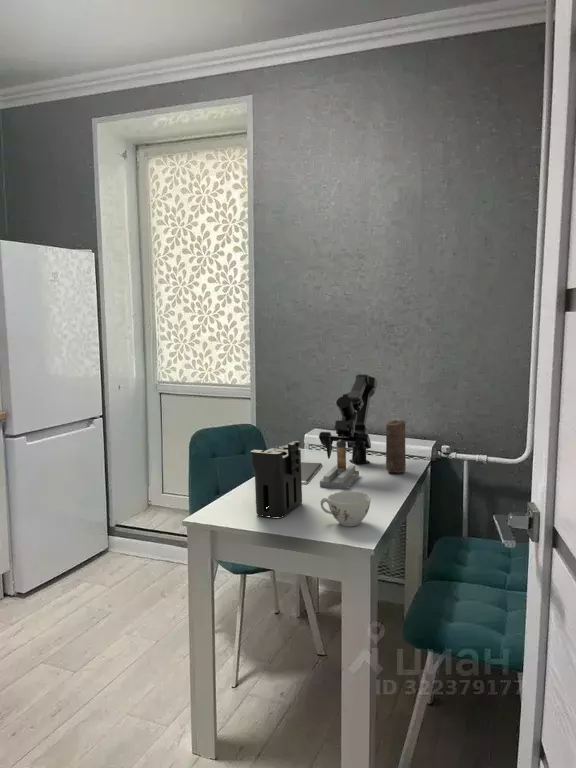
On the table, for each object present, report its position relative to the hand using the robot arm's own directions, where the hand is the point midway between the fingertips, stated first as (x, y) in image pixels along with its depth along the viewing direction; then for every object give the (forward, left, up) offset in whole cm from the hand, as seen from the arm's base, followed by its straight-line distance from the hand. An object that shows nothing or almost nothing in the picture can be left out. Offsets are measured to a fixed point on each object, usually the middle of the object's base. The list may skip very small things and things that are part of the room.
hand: (340, 458), depth 213 cm
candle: (-1, +23, -8) cm, 25 cm away
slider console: (+1, -1, -8) cm, 8 cm away
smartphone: (-15, -11, -9) cm, 21 cm away
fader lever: (-1, +1, -6) cm, 6 cm away
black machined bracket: (+22, -29, -8) cm, 37 cm away
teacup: (+41, -16, -8) cm, 44 cm away
